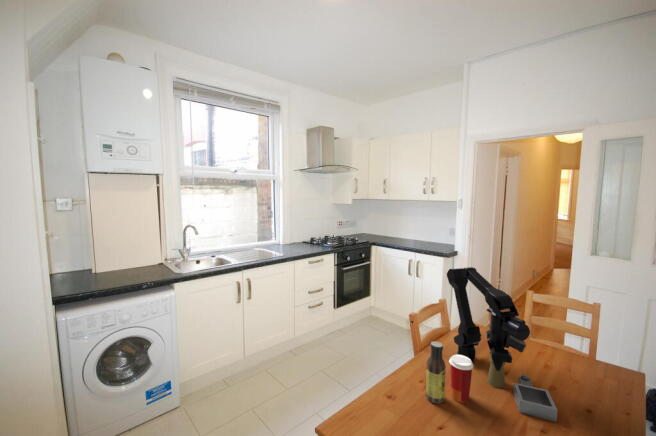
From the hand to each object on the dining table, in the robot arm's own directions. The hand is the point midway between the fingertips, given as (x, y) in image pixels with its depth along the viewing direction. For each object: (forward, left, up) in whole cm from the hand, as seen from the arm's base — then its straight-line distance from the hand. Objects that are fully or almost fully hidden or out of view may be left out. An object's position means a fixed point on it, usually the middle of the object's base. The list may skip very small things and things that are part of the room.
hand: (496, 366), depth 109 cm
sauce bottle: (-21, -18, -7) cm, 28 cm away
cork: (0, 0, -7) cm, 7 cm away
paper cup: (-13, -14, -7) cm, 20 cm away
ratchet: (+10, -4, -7) cm, 13 cm away
